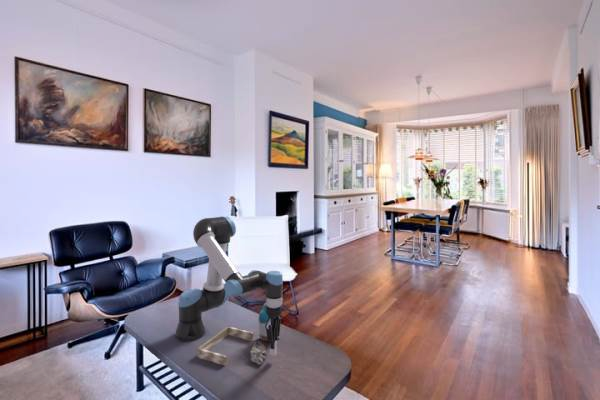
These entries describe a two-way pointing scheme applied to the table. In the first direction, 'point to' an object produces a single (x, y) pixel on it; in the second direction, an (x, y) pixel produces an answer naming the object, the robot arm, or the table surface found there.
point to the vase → (263, 323)
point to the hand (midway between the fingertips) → (273, 354)
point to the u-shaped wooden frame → (216, 357)
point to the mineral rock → (258, 353)
